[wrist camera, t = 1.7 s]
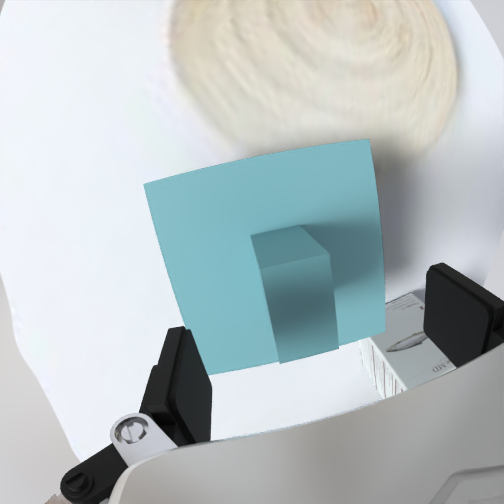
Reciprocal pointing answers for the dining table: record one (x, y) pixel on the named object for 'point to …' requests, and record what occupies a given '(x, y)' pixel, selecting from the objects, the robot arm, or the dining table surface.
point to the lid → (274, 253)
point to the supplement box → (402, 350)
